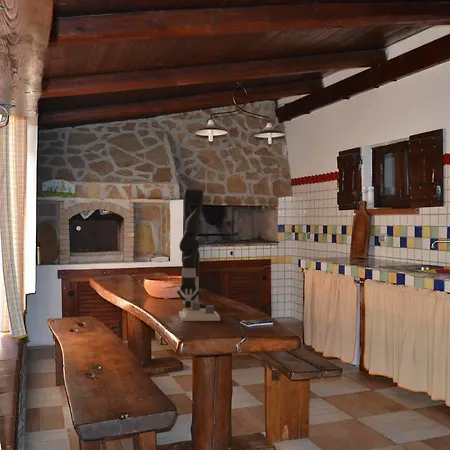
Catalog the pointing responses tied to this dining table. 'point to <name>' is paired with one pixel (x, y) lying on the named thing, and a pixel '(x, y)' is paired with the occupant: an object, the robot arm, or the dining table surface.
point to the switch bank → (198, 315)
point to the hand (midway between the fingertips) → (187, 307)
